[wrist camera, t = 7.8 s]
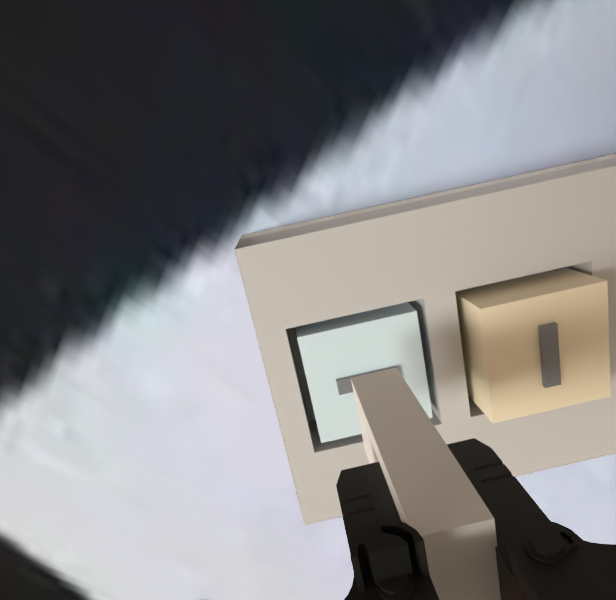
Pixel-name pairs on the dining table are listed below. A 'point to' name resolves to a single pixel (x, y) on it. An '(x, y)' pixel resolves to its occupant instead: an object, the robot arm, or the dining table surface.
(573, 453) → the keypad
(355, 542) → the robot arm
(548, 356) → the key sand
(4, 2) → the dining table surface
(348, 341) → the key blue
